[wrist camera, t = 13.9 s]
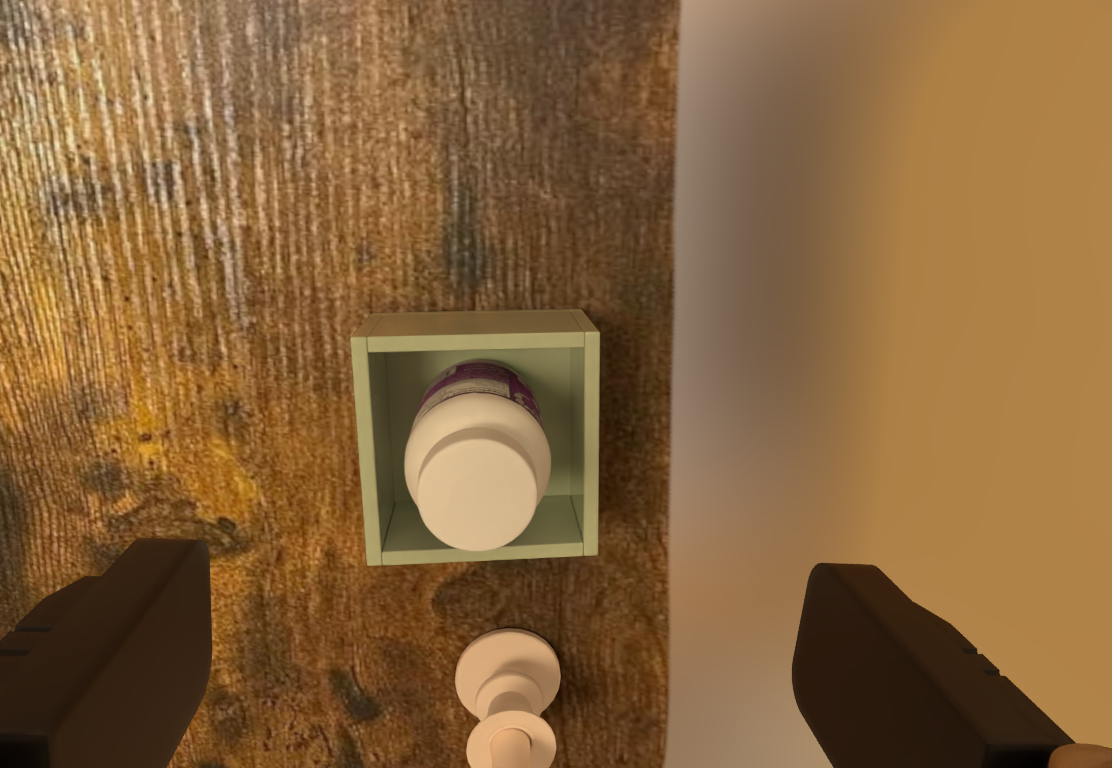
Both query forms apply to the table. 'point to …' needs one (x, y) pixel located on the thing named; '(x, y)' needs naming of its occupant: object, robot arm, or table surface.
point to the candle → (509, 698)
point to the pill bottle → (477, 455)
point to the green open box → (394, 397)
